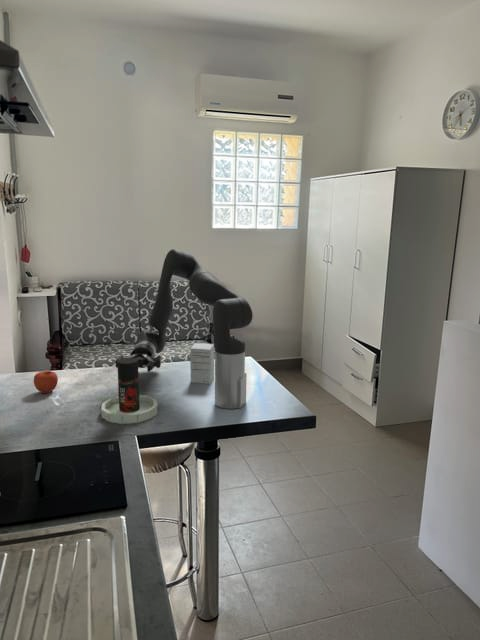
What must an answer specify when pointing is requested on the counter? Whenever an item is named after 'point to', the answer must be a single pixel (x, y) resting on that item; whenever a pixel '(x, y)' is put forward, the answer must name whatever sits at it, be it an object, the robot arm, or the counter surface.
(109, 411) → the round tray
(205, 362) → the supplement box
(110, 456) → the counter surface
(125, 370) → the deodorant
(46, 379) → the apple
